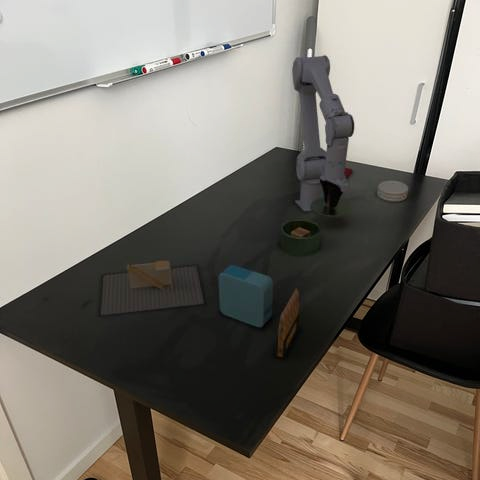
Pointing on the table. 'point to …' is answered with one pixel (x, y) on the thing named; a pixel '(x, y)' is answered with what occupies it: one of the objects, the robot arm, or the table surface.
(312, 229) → the bowl
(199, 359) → the table surface
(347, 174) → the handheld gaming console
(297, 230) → the block
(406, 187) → the coaster
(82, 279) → the table surface
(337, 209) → the lid
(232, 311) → the data package
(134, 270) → the model
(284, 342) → the brown wooden panel
